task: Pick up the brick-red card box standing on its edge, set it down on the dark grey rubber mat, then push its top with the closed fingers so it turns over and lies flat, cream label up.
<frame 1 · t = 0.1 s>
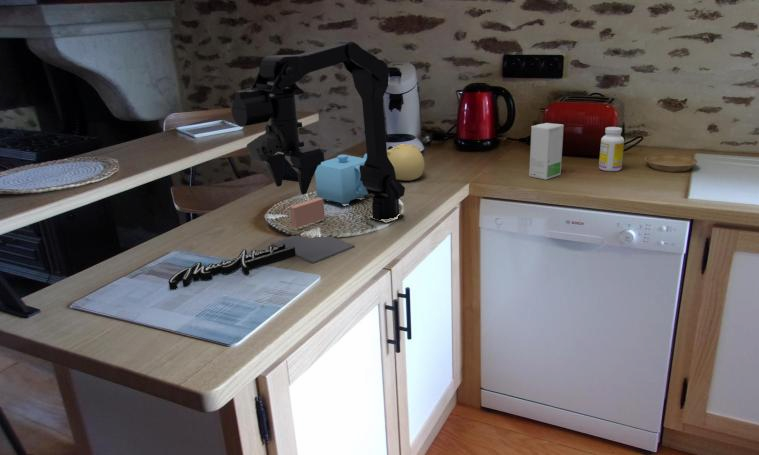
hand: (291, 190, 127), 15 cm above the worktop, tool pointing down, fingers open, 9 cm apart
plant saucer: (669, 168, 181), on the worktop
teapot: (353, 197, 167), on the worktop
skincare box: (544, 176, 178), on the worktop
nameplate: (233, 269, 125), on the worktop, touching mat
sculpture: (405, 178, 183), on the worktop
card box: (308, 225, 148), on the worktop
mat: (312, 245, 135), on the worktop
supplement bottle: (609, 169, 182), on the worktop
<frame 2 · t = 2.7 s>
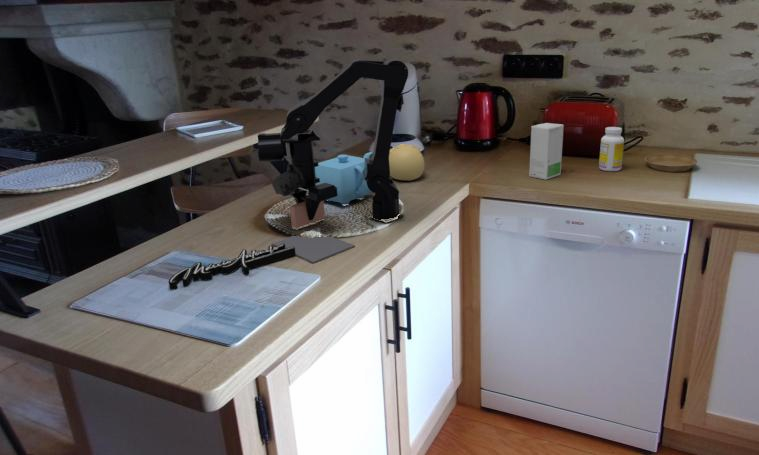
hand: (308, 218, 147), 2 cm above the worktop, tool pointing down, fingers closed on card box, 2 cm apart
card box: (308, 224, 148), on the worktop, touching gripper
everything else where it was.
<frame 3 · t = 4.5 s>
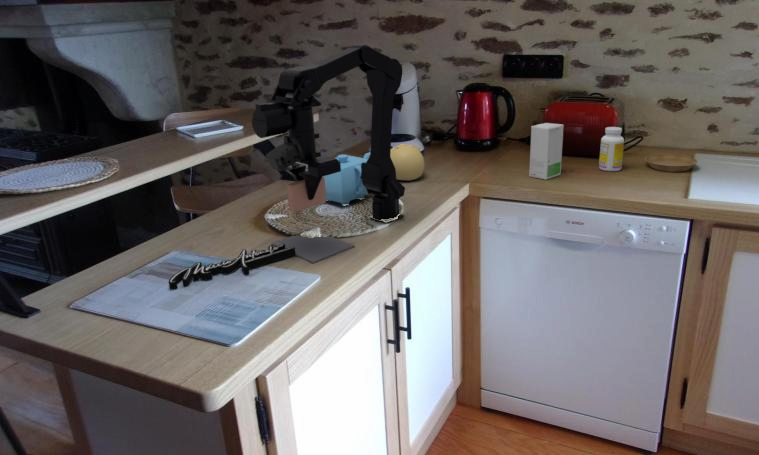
hand: (307, 198, 131), 12 cm above the worktop, tool pointing down, fingers closed on card box, 2 cm apart
card box: (308, 206, 131), point 10 cm above the worktop, touching gripper
everything else where it was.
when the fingers open (2 cm above the worktop, at t = 6.3 s): card box stays where it is, resting on mat.
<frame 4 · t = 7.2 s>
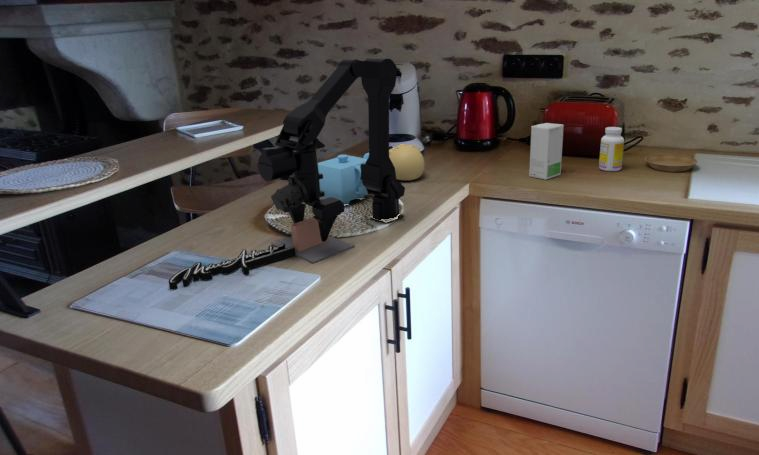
hand: (311, 236, 134), 2 cm above the worktop, tool pointing down, fingers open, 9 cm apart
card box: (311, 244, 134), resting on mat
everything else where it was.
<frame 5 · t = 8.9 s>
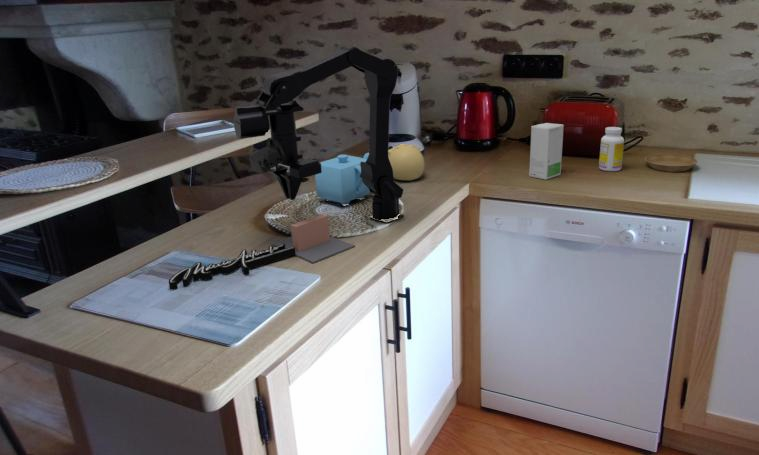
hand: (290, 198, 136), 10 cm above the worktop, tool pointing down, fingers closed
nothing on the worktop moved.
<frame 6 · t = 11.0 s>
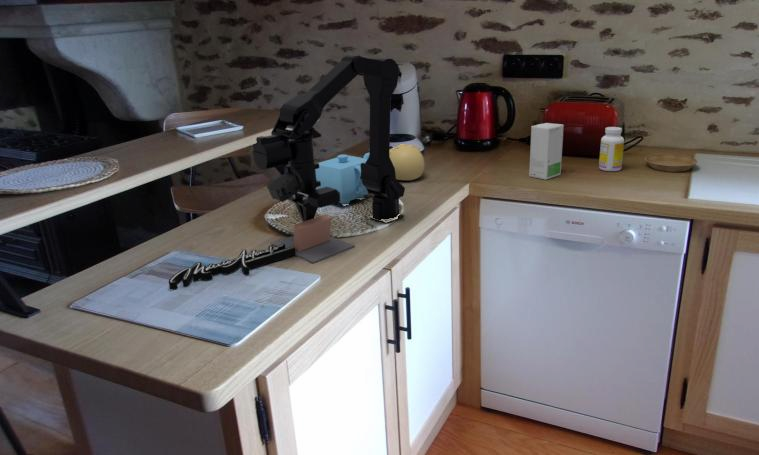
hand: (308, 226, 134), 5 cm above the worktop, tool pointing down, fingers closed
card box: (311, 243, 134), point 1 cm above the worktop, tilted 12°, touching mat
everything else where it was.
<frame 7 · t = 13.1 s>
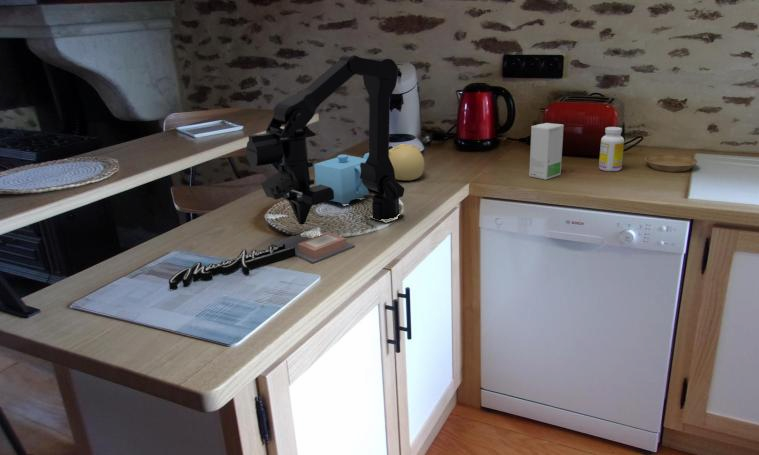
hand: (301, 224, 135), 5 cm above the worktop, tool pointing down, fingers closed
card box: (314, 241, 133), point 1 cm above the worktop, tilted 90°, touching mat
everything else where it was.
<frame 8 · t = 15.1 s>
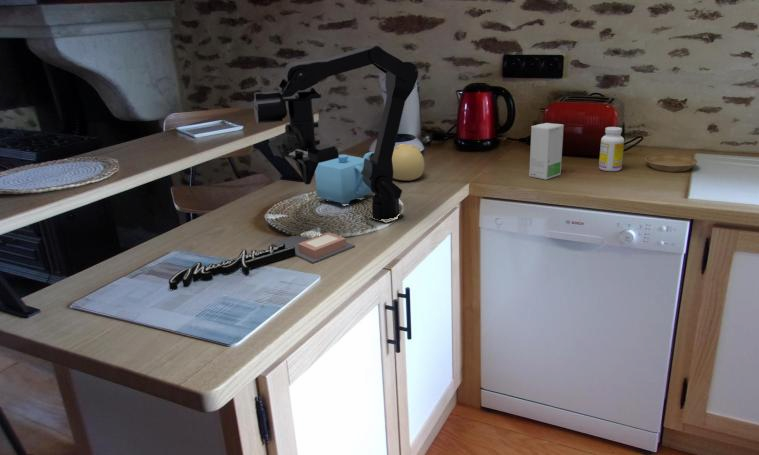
hand: (307, 184, 140), 12 cm above the worktop, tool pointing down, fingers closed
nothing on the worktop moved.
at the end: card box tilted 90°; card box inside the target area on the mat (1.1 cm from its centre), point 1.4 cm above the mat's base; the gripper is holding nothing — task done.
